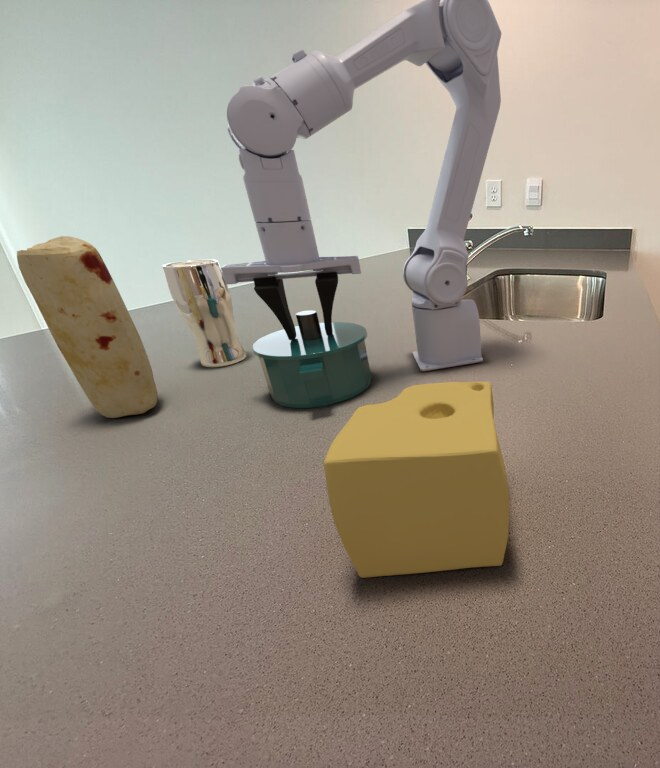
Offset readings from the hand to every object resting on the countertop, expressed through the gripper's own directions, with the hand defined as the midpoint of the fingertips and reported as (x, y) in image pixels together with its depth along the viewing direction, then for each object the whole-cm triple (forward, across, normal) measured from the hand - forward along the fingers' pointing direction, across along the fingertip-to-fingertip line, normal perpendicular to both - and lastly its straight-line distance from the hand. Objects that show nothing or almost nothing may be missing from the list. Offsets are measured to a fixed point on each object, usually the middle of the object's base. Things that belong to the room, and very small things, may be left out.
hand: (311, 335), depth 52 cm
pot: (+7, 0, 0) cm, 7 cm away
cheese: (+7, +9, -31) cm, 33 cm away
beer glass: (+7, -15, +17) cm, 24 cm away
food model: (+7, -22, +3) cm, 23 cm away
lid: (+1, 0, 0) cm, 1 cm away
